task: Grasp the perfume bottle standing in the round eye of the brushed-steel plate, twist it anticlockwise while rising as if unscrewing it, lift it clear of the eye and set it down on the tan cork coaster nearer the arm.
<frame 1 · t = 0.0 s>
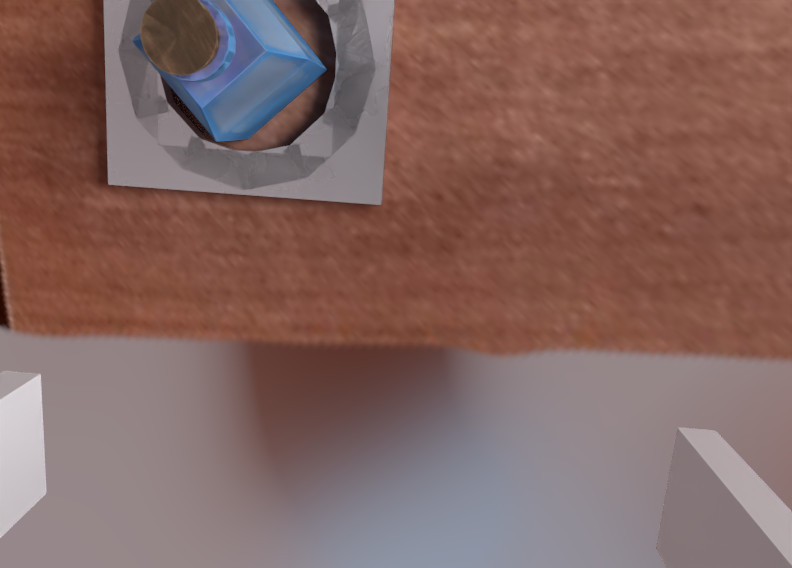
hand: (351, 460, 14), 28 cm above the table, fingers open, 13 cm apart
perfume bottle: (252, 62, 40), resting in eye plate
eye plate: (251, 61, 40), on the table
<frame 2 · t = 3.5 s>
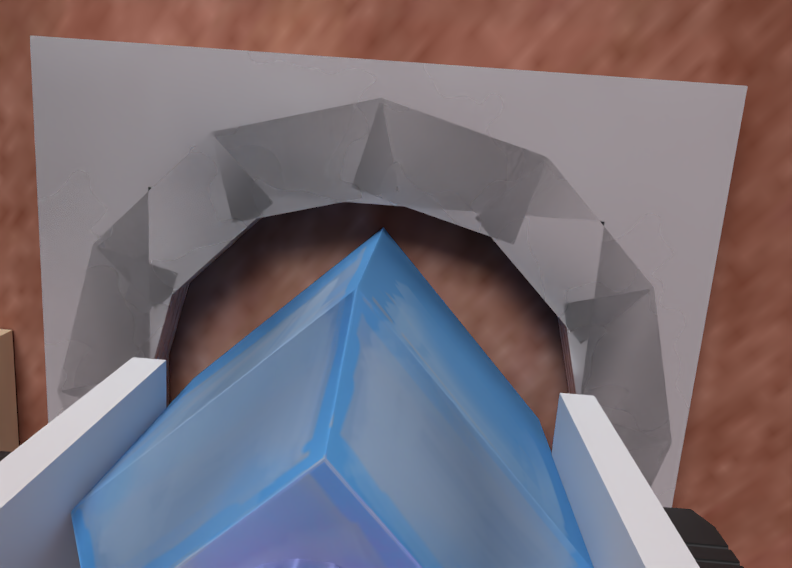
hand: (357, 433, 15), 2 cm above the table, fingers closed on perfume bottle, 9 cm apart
perfume bottle: (366, 395, 18), resting in eye plate, touching gripper
eye plate: (365, 397, 17), on the table
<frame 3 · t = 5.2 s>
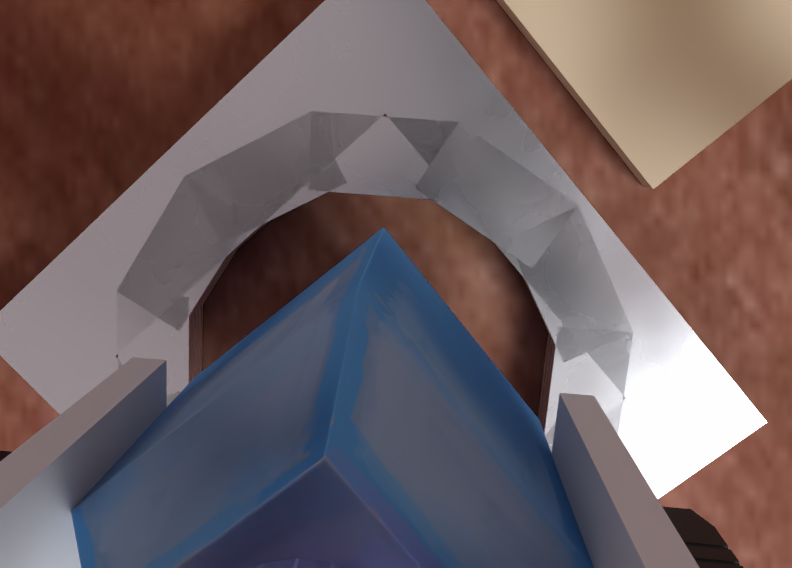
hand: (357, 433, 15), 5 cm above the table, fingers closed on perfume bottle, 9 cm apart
perfume bottle: (366, 395, 18), point 3 cm above the table, touching gripper
eye plate: (371, 362, 20), on the table
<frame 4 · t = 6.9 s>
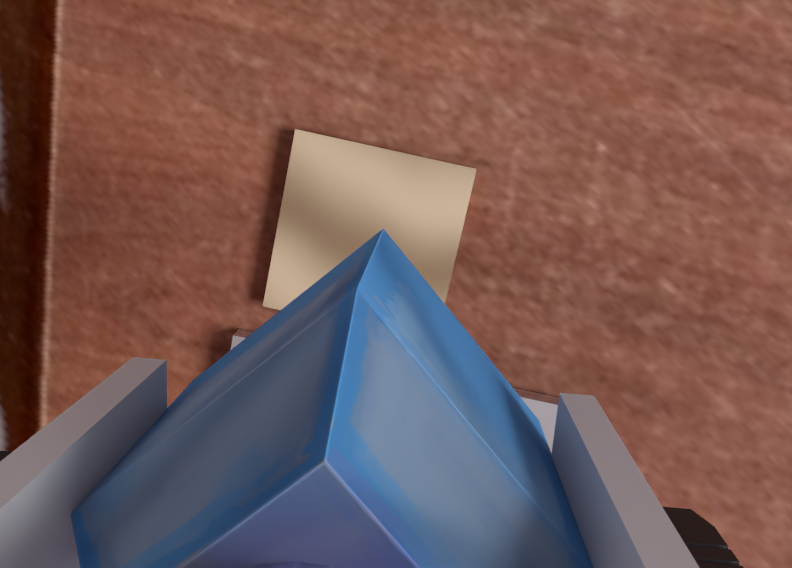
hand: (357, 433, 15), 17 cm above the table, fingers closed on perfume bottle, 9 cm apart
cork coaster: (368, 237, 31), on the table
perfume bottle: (366, 396, 18), point 14 cm above the table, touching gripper
eye plate: (373, 507, 34), on the table
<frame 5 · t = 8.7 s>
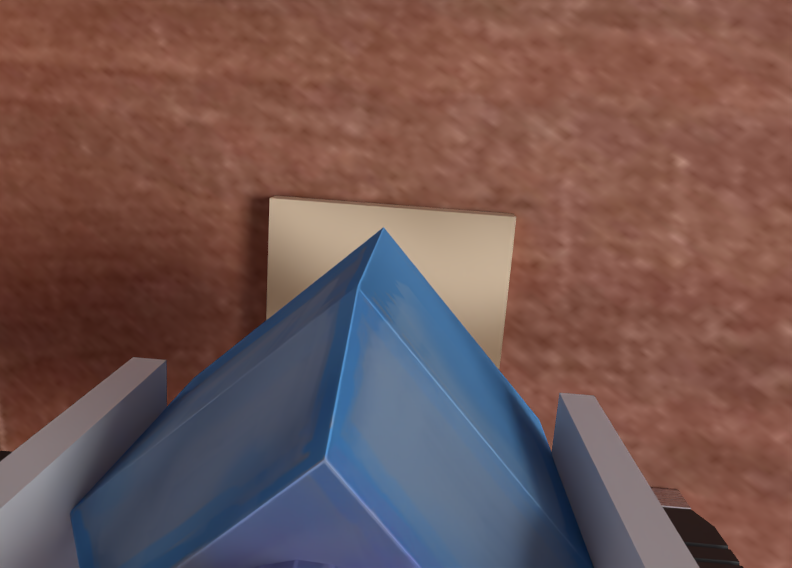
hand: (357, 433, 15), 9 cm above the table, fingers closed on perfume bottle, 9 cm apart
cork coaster: (385, 319, 24), on the table
perfume bottle: (366, 395, 18), point 7 cm above the table, touching gripper
when the fingers open (4 cm above the table, at t = 10.5 s): perfume bottle drops 2 cm, resting on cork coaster.
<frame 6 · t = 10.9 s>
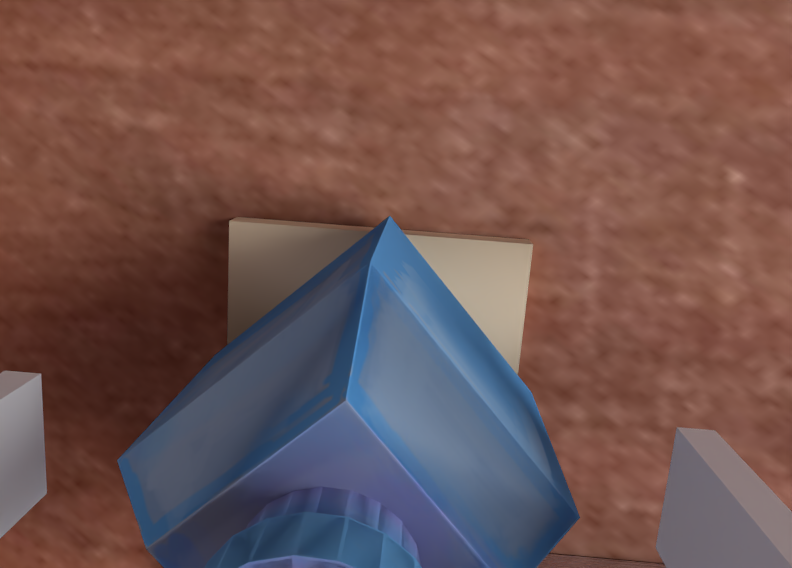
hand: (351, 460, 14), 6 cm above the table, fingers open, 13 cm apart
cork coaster: (372, 366, 20), on the table
perfume bottle: (373, 370, 19), point 1 cm above the table, touching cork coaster
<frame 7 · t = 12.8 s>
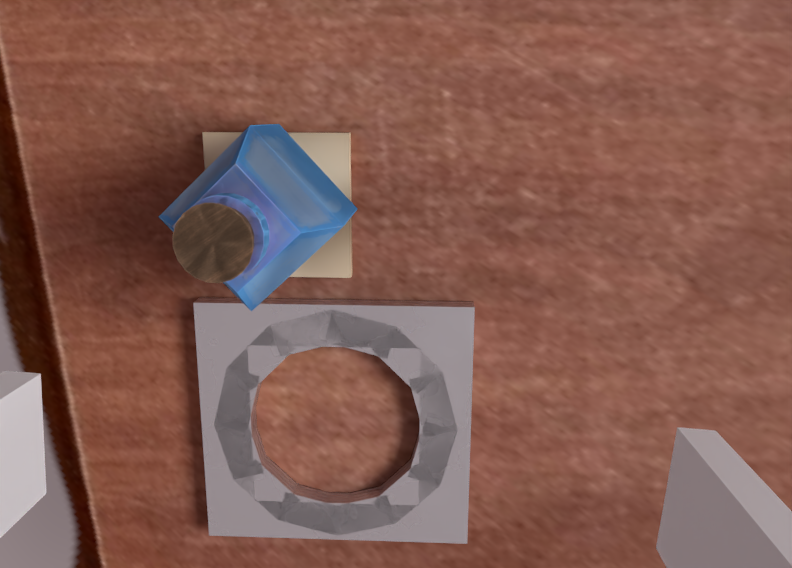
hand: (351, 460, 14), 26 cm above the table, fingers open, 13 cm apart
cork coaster: (281, 204, 39), on the table
perfume bottle: (279, 204, 38), point 1 cm above the table, touching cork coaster
eye plate: (337, 418, 42), on the table
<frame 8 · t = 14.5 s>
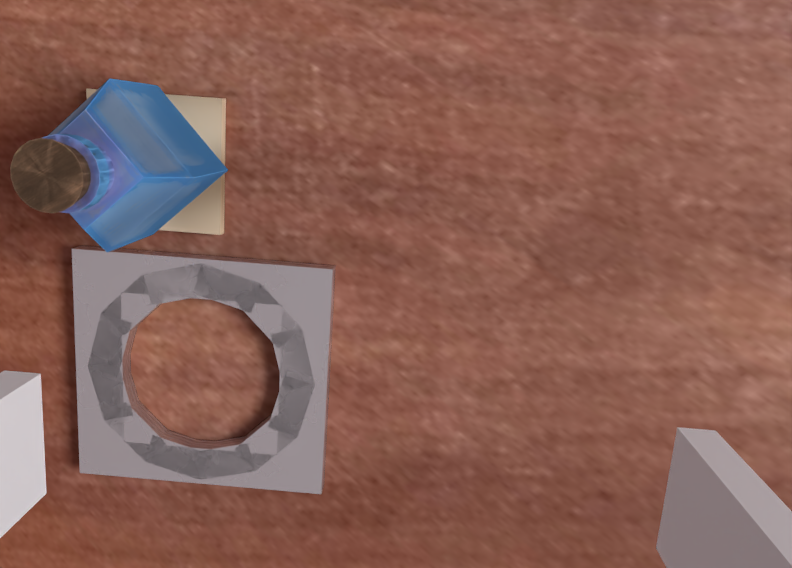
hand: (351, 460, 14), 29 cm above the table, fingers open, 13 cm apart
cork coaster: (159, 162, 42), on the table
perfume bottle: (156, 161, 41), point 1 cm above the table, touching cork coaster
eye plate: (206, 369, 45), on the table
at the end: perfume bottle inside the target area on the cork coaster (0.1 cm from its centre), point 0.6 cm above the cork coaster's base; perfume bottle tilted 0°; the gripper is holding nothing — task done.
